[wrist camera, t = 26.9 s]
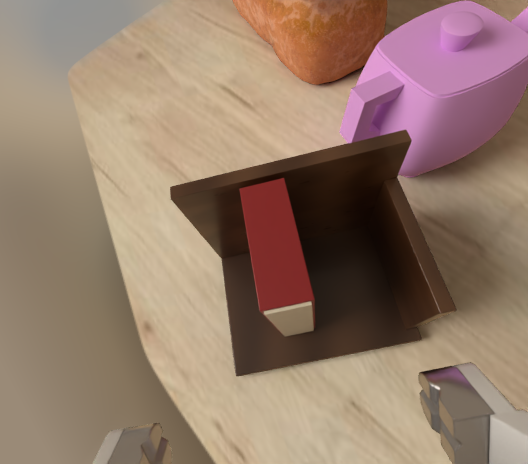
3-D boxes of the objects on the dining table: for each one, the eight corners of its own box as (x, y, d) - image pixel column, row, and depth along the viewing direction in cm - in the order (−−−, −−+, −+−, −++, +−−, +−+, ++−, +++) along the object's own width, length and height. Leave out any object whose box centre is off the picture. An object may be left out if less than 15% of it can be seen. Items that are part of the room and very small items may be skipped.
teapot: (374, 217, 31) (407, 129, 20) (312, 138, 37) (310, 34, 25) (535, 130, 32) (654, 0, 21) (452, 67, 38) (511, -64, 26)
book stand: (238, 376, 27) (178, 380, 15) (223, 253, 32) (169, 186, 21) (418, 340, 26) (502, 316, 14) (372, 219, 31) (406, 128, 20)
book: (282, 337, 27) (260, 315, 16) (266, 252, 30) (239, 188, 20) (316, 330, 27) (315, 303, 16) (295, 246, 30) (284, 177, 19)
